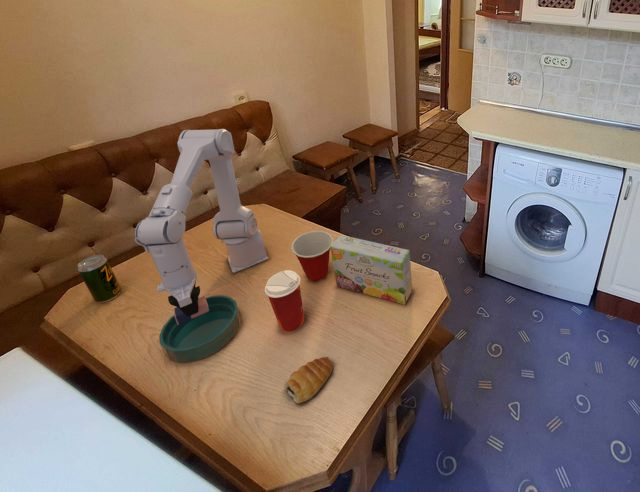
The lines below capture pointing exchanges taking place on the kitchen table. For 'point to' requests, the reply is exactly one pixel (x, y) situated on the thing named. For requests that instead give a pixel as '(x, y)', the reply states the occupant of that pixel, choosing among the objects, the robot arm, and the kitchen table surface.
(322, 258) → the plastic cup
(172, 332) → the bowl
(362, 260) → the snack box
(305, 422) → the kitchen table surface
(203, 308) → the eraser
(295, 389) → the pastry
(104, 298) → the beer can
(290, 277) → the paper cup
